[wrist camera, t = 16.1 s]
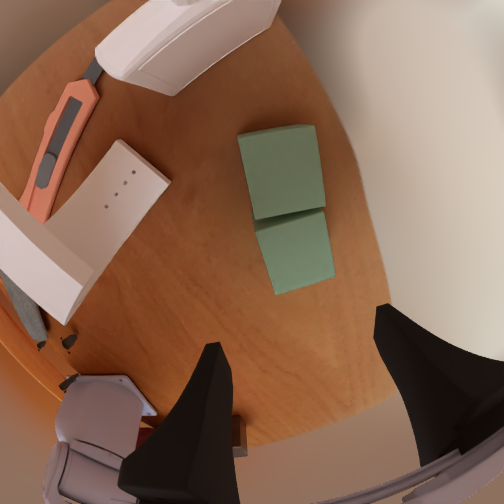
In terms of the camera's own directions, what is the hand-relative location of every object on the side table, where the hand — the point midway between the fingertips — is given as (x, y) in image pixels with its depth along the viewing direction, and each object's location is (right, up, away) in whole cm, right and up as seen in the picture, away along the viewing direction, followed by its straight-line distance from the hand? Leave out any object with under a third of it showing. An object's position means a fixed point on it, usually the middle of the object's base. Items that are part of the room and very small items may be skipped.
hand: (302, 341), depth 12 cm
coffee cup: (-11, +8, +5) cm, 15 cm away
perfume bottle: (-5, +16, +2) cm, 17 cm away
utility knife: (-22, +4, +6) cm, 24 cm away
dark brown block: (-5, -18, +18) cm, 26 cm away
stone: (-22, -1, +7) cm, 23 cm away
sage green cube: (0, +5, +7) cm, 9 cm away
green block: (-1, +10, +5) cm, 11 cm away
